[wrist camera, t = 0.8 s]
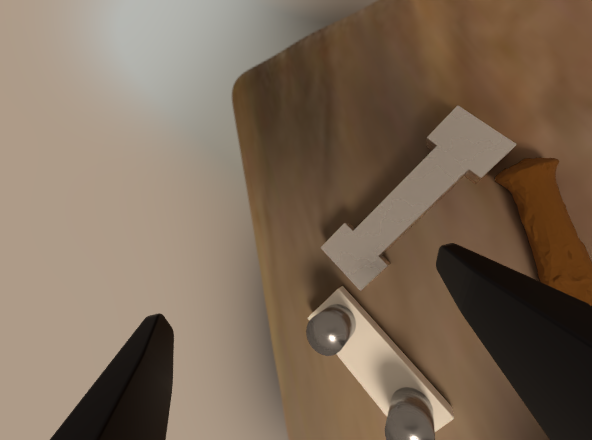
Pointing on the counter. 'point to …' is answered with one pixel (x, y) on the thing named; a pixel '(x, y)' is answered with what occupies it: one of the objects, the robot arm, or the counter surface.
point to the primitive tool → (549, 227)
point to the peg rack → (379, 368)
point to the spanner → (418, 193)
